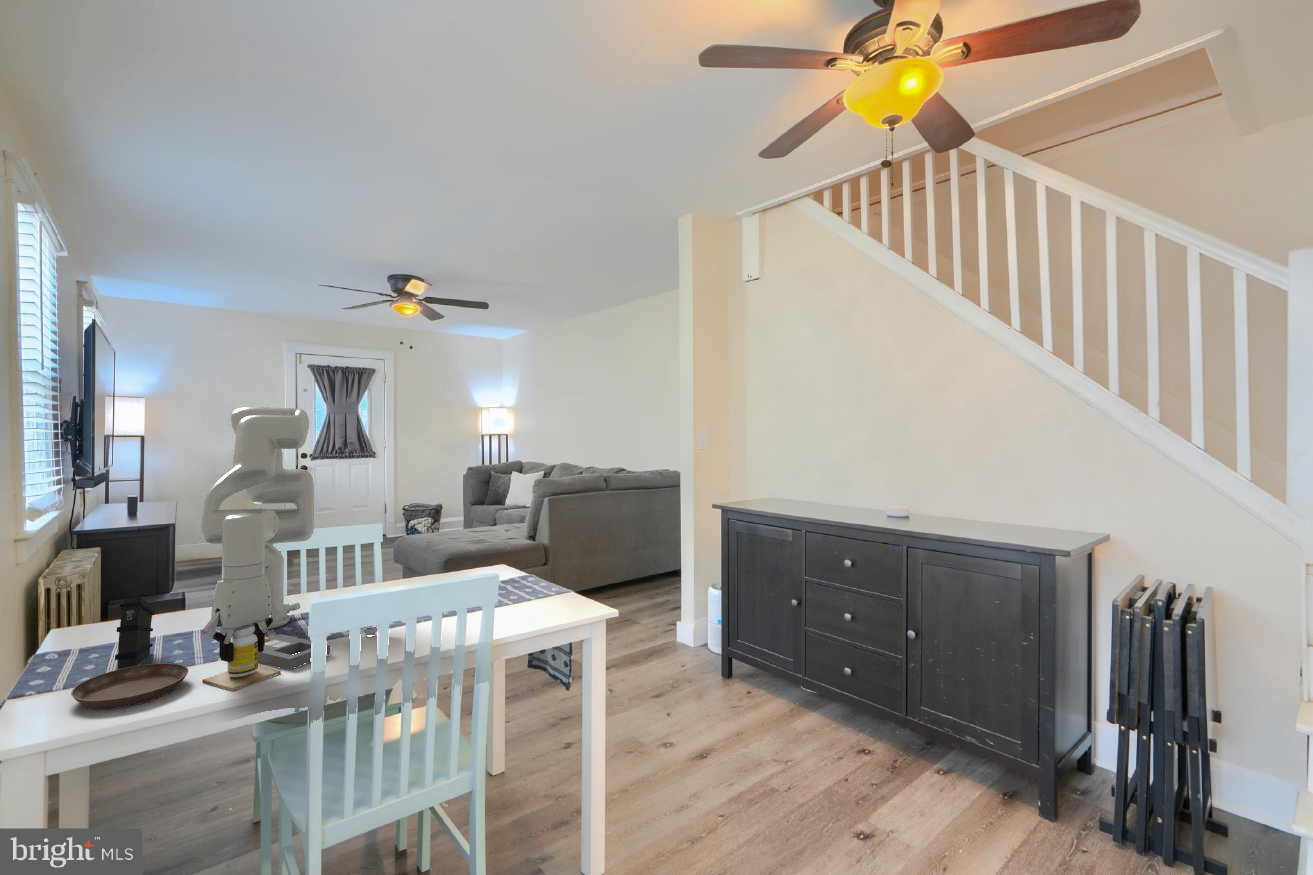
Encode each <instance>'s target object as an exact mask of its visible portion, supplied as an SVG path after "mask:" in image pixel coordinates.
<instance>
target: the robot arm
mask: <svg viewBox="0 0 1313 875" xmlns="http://www.w3.org/2000/svg"><path fill="white" fill-rule="evenodd" d="M230 423H231V426H232V430H233V432H234V434H235V440H234V449H233V450H234V451H233V452H234V453H233V458H232V459H233V460H232V468H231V470H230V471H228V472H227V473H225V474H224V475H223V476H221V477H220V478H219V479H218V480H217V481H215V483H214V484H213V485H212V486H211V488H210V489H209V490H208V491H207V494H206V496H205V499H204V502H203V507H202V508H203V509H202V513H201V514H202V515H201V521H200V522H201V523H200V533H201V534H200V535H201V538H202V539H203V541H204V542H206V543H208V544H210V545H221V579H220V580H217V581H216V585H215V589H214V593H213V597H212V598H213V599H212V604H211V607H212V608H211V614H210V615H211V616H210V620H209V621H208V622H207V623H206V625H205V626H204V627H203V629H202V633H204V634H206V635H207V636H209V637H211V638H212V639H213V640H215V641H216V642H217V643H219V651H218V652H219V654H218V655H219V658H220V660H221V661H223V662H226V663H228V662H232V661H233V643H232V642H230V641H231V638H233V637H232V635H233V632H234V630H235V628H238V627H242V626H245V625H253V626H254V632H253V633H252V634H253V635H256V636H257V638H258V652H263V651H264V645H265V637H266V635H265V634H266V633H267V632H268V630H270V629H275V628H279V627H282V626H284V625H287V624H288V623H289V622H290V620H291V616H290V615H288V614H289V613H290V612H294V611H297V610H300V608H301V604H300V602H296V603H295V602H294V603H291V604H290V603H284V601H285V600H284V599H285V598H284V594H285V593H284V591H285V590H284V586H285V585H284V584H285V583H284V582H285V580H284V579H285V560H284V556H283V554H282V552H280V551H279V549H277V547H275V546H274V545H276V544H281V543H282V544H283V543H284V544H285V543H298V542H305V541H308V540H310V538H312V536H313V534H314V528H315V488H314V486H315V485H314V479H313V475H312V474H311V473H310V471H308V470H306V469H301V468H296V469H295V468H284V467H283V466H284V465H283V460H284V458H283V457H284V456H283V455H284V453H283V451H282V450H285V449H286V450H294V449H295V450H298V449H302V448H303V447H304V446H305V443H306V441H307V437H308V433H309V430H310V419H309V414H307V412H306V411H305V410H304V409H302V408H295V407H293V408H292V407H291V408H290V407H269V406H267V407H265V406H264V407H263V406H259V407H258V406H250V407H249V406H248V407H246V406H245V407H239V408H237V409H235V410H233V411H232V413H231V415H230ZM244 490H245V495H246V496H245V497H246V499H247V501H248V502H250V503H252V504H254V505H255V504H256V505H281V504H291V505H294V506H295V507H285V508H284V507H283V508H281V507H279V508H278V507H275V508H274V507H273V508H235V509H232V508H231V509H220V508H221V505H223V503H224V502H225V501H226V500H228V498H230V497H231V496H233V495H235V494H237V493H239V492H242V491H244ZM216 628H219V631H217V630H216Z"/></svg>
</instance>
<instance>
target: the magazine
mask: <svg viewBox="0 0 1313 875" xmlns="http://www.w3.org/2000/svg"><path fill="white" fill-rule="evenodd" d="M122 601H123V602H122V603H120V604H119V608H120V609H121V616H120V621H119V622H120V623H119V626H117V627H116V632H117V633H118V646H117V653H116V654H114V661H117V670H119V669H123V668H127V667H132V666H138V665H141V664H140V663H141V662H143V661H144V660H145V659H146V657H148V655H149V654H150V653H151V648H152V647H153V646H154V645H153V643H152V642H151V632H154V628H153V627H152V620H153V616H155V615H156V611H155V610H154V605H152V604H151V603H149V602H148V601H146V600H145V599H144V598H143V597H139V596H138V597H126V598H125V597H124V598H123V600H122Z"/></svg>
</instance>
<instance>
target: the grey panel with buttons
mask: <svg viewBox="0 0 1313 875" xmlns="http://www.w3.org/2000/svg"><path fill="white" fill-rule="evenodd" d="M311 641H312V640H311V639H305V638H300V637H295V636H291V635H287V634H286V635H285V634H281V633H279V634H276V635H273V636H269V637H268V636H265V645H264V651H263V652H258V664H262V665H267V666H270V665H271V666H270V667H274V666H275V668H278V667H280V668H279V669H282V668H283V669H282V670H286V669H289V670H288V671H291V670H290V669H292V670H294V669H295V668H294V667H297V668H299V667H298V666H300V665H303V664H304V663H308V664H311V663H310V658H311ZM326 644H327V655H329V654H330V655H331V645H330V644H328V643H326ZM298 652H300V653H298ZM295 653H297V654H295ZM292 654H294V655H292ZM303 666H304V665H303ZM300 667H301V666H300ZM293 668H294V669H293Z"/></svg>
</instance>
